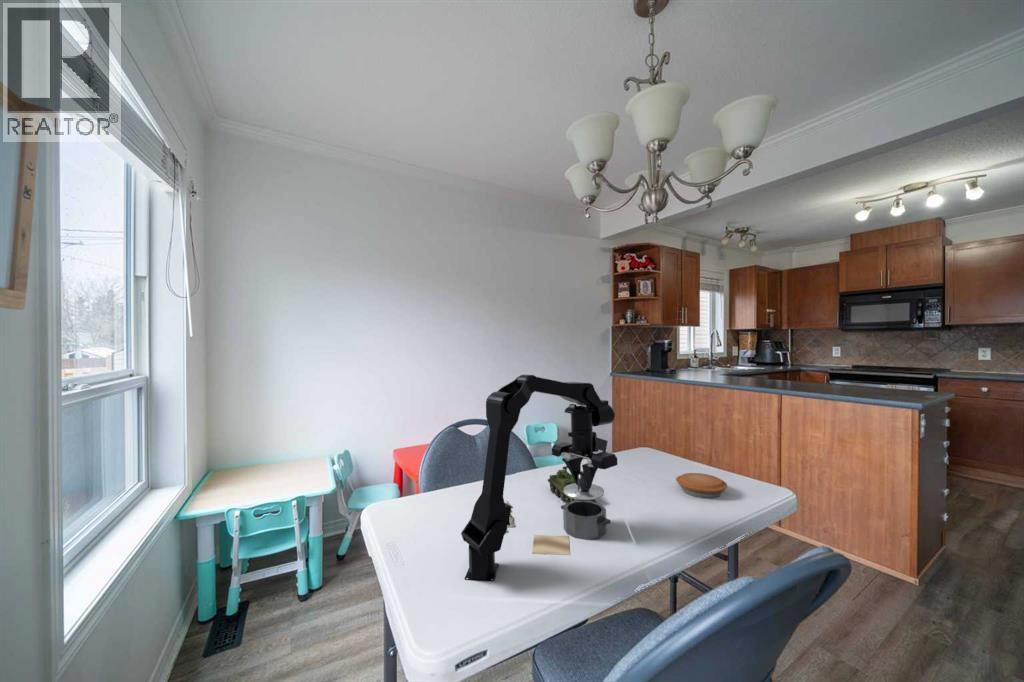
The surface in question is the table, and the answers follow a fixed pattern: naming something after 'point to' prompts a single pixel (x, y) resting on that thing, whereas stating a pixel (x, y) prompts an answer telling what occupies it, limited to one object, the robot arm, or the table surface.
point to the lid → (583, 490)
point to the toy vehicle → (562, 484)
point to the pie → (701, 485)
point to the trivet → (551, 545)
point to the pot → (585, 519)
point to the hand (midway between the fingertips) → (583, 486)
